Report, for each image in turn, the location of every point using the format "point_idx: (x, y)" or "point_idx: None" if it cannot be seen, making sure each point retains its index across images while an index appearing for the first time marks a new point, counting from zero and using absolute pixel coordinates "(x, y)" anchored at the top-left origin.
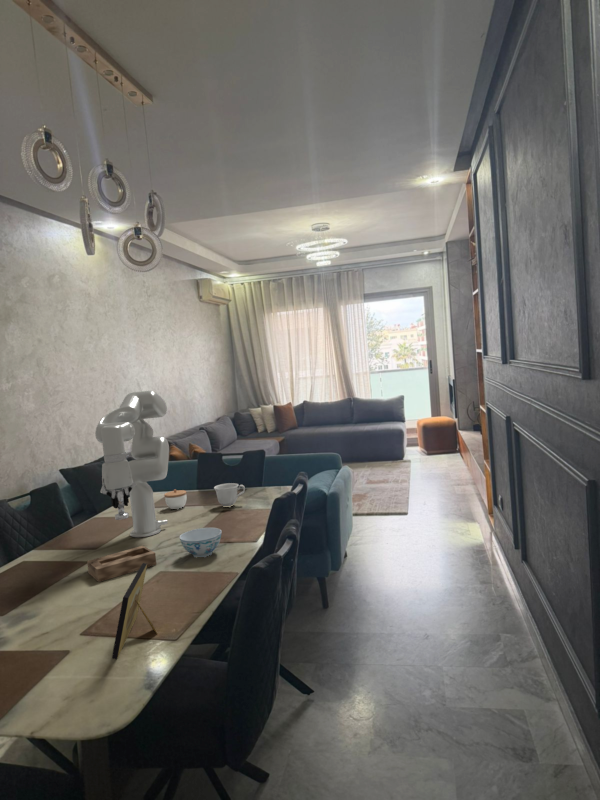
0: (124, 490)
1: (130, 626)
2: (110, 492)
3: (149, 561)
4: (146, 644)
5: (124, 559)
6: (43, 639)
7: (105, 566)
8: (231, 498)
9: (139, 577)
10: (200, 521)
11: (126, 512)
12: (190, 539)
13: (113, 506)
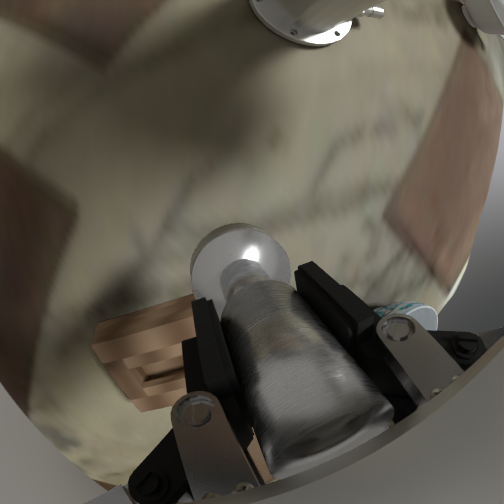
0: (409, 368)
1: None
2: (201, 471)
3: None
4: None
5: None
6: (120, 479)
7: (158, 406)
8: (490, 32)
9: None
10: (434, 50)
11: (281, 250)
12: (387, 312)
13: (192, 306)
